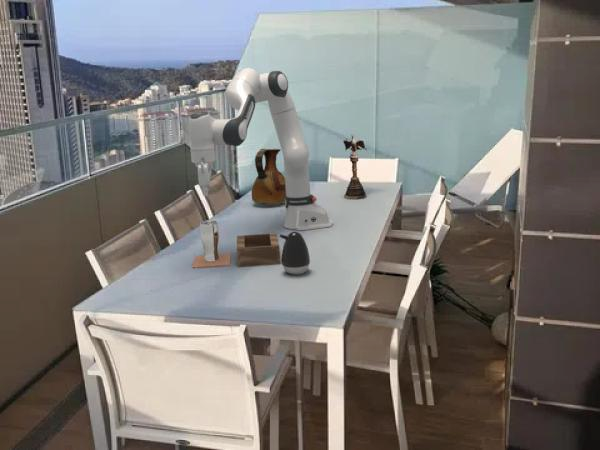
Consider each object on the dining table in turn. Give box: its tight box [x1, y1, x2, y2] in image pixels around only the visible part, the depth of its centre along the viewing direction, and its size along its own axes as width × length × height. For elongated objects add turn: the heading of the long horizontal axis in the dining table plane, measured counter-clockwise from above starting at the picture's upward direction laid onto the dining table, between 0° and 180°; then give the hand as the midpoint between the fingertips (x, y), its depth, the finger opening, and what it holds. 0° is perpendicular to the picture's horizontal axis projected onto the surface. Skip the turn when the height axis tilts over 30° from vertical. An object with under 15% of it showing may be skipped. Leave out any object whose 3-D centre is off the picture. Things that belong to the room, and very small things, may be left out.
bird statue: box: [342, 133, 368, 200], centre depth 334 cm, size 17×13×35 cm
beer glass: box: [199, 219, 220, 262], centre depth 238 cm, size 7×7×15 cm
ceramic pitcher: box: [251, 148, 286, 206], centre depth 326 cm, size 20×20×30 cm
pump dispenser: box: [279, 230, 311, 276], centre depth 221 cm, size 10×10×15 cm
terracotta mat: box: [192, 253, 231, 269], centre depth 240 cm, size 14×14×1 cm
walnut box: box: [236, 232, 281, 268], centre depth 240 cm, size 18×16×7 cm
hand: (206, 193), depth 233 cm, fingers open, 8 cm apart
